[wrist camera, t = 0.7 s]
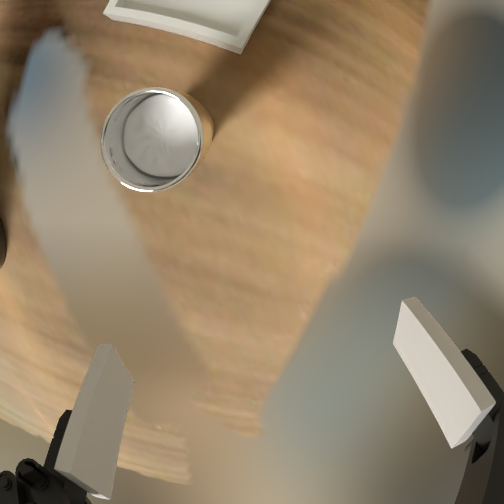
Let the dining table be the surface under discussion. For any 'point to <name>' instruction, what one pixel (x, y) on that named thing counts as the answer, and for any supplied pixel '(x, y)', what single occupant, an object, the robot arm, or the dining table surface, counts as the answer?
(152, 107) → the beer glass
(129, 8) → the tray
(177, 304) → the dining table surface
